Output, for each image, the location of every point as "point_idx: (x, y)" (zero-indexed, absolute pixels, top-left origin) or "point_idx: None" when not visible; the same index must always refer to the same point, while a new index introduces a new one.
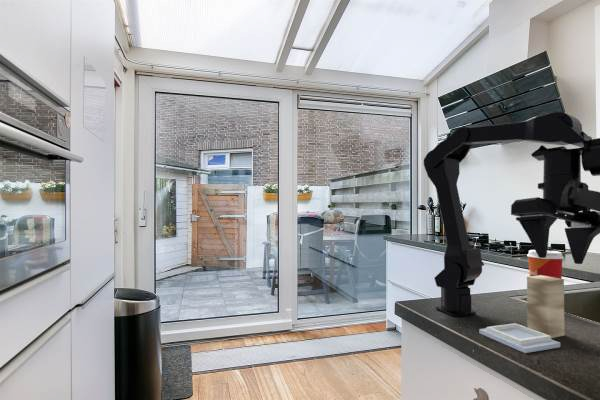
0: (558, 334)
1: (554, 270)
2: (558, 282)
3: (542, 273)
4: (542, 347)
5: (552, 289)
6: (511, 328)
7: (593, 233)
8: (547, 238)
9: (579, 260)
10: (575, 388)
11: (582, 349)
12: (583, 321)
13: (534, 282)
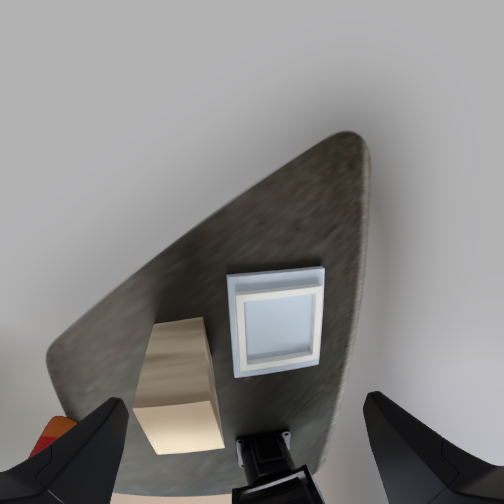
0: (173, 323)
1: None
2: (160, 400)
3: None
4: (278, 271)
5: (192, 384)
6: (257, 359)
7: (8, 490)
8: (423, 448)
9: (118, 411)
10: (357, 145)
11: (190, 254)
12: (53, 365)
13: (218, 424)
